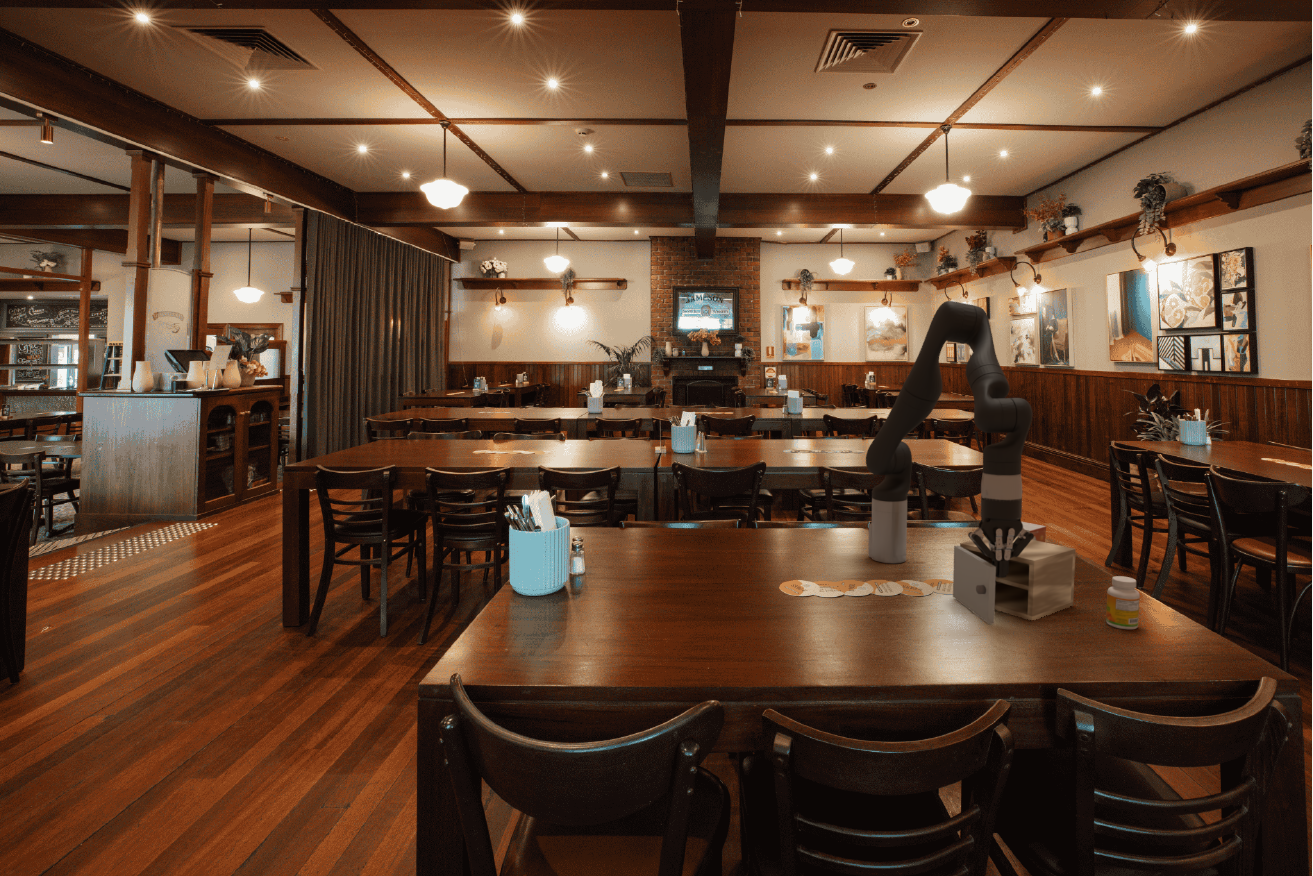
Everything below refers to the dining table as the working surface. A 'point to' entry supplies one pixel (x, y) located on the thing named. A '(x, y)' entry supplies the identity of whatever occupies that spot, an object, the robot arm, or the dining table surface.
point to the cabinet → (1034, 579)
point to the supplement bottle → (1123, 603)
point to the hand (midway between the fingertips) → (999, 576)
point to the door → (974, 583)
